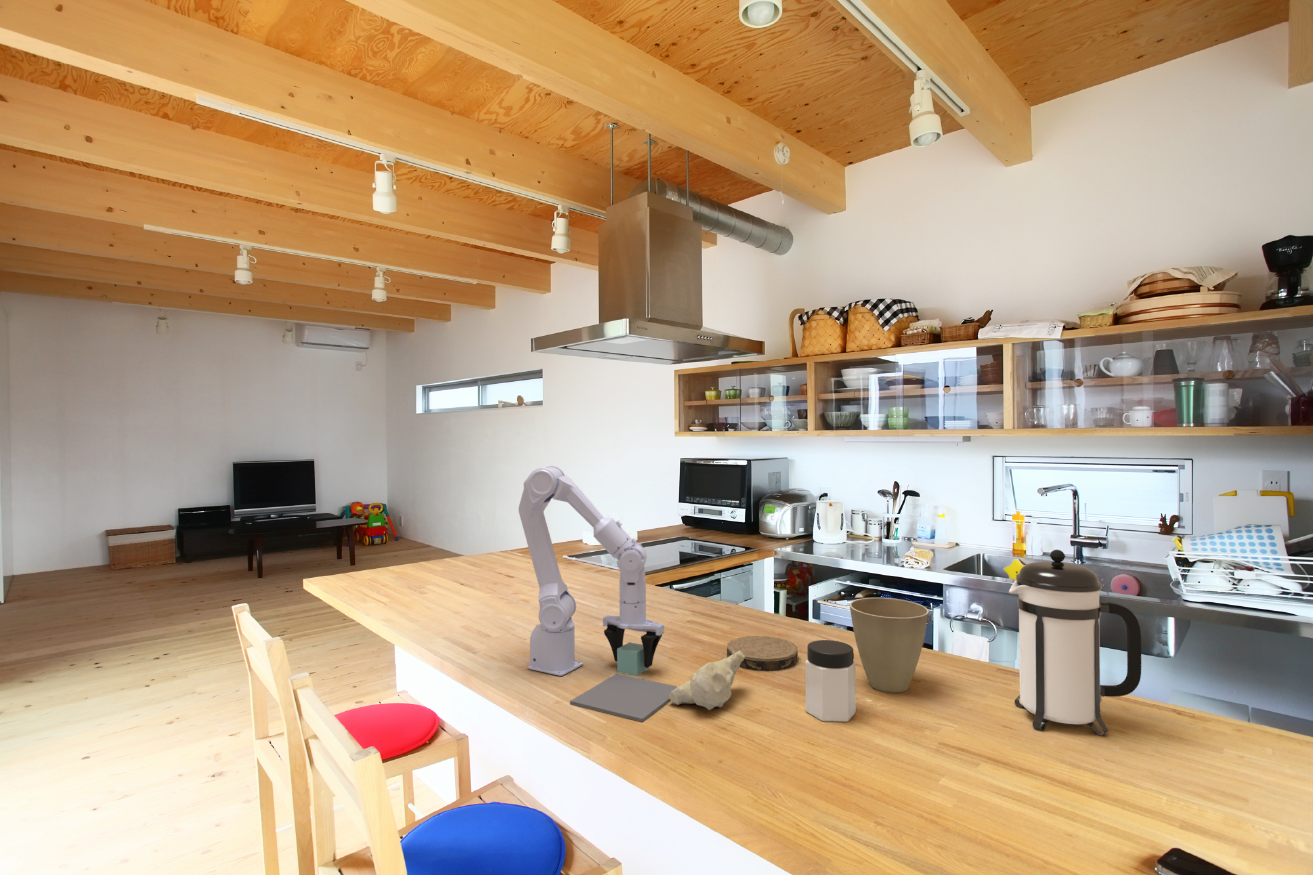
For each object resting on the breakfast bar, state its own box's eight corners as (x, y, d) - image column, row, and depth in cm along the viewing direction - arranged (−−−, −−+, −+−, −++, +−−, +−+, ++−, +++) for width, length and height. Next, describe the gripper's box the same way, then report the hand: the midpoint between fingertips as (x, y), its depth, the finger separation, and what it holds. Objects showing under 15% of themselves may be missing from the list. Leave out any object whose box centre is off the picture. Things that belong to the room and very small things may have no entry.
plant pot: (837, 687, 128) (836, 607, 128) (869, 667, 139) (868, 593, 139) (911, 708, 118) (911, 621, 118) (940, 684, 129) (939, 605, 129)
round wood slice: (778, 678, 134) (778, 663, 134) (713, 662, 144) (713, 649, 144) (809, 657, 147) (809, 644, 147) (748, 644, 156) (748, 631, 156)
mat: (570, 704, 121) (570, 700, 121) (616, 676, 135) (616, 673, 135) (642, 722, 113) (642, 718, 113) (684, 690, 127) (684, 687, 127)
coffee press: (1085, 750, 102) (1084, 561, 102) (992, 712, 116) (991, 547, 116) (1144, 726, 110) (1142, 552, 110) (1050, 694, 124) (1048, 539, 124)
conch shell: (681, 733, 113) (748, 681, 112) (659, 696, 116) (723, 646, 115) (704, 725, 127) (764, 679, 126) (684, 692, 130) (741, 647, 129)
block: (617, 671, 138) (617, 648, 138) (629, 664, 142) (629, 642, 142) (637, 676, 135) (636, 652, 135) (649, 668, 140) (648, 645, 140)
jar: (865, 717, 114) (865, 650, 114) (830, 726, 111) (829, 657, 111) (831, 699, 122) (831, 636, 122) (797, 707, 119) (796, 642, 119)
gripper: (594, 600, 139) (595, 663, 139) (652, 609, 132) (652, 675, 132) (612, 593, 145) (613, 653, 145) (668, 601, 138) (669, 664, 138)
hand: (633, 663), depth 139 cm, fingers open, 7 cm apart
